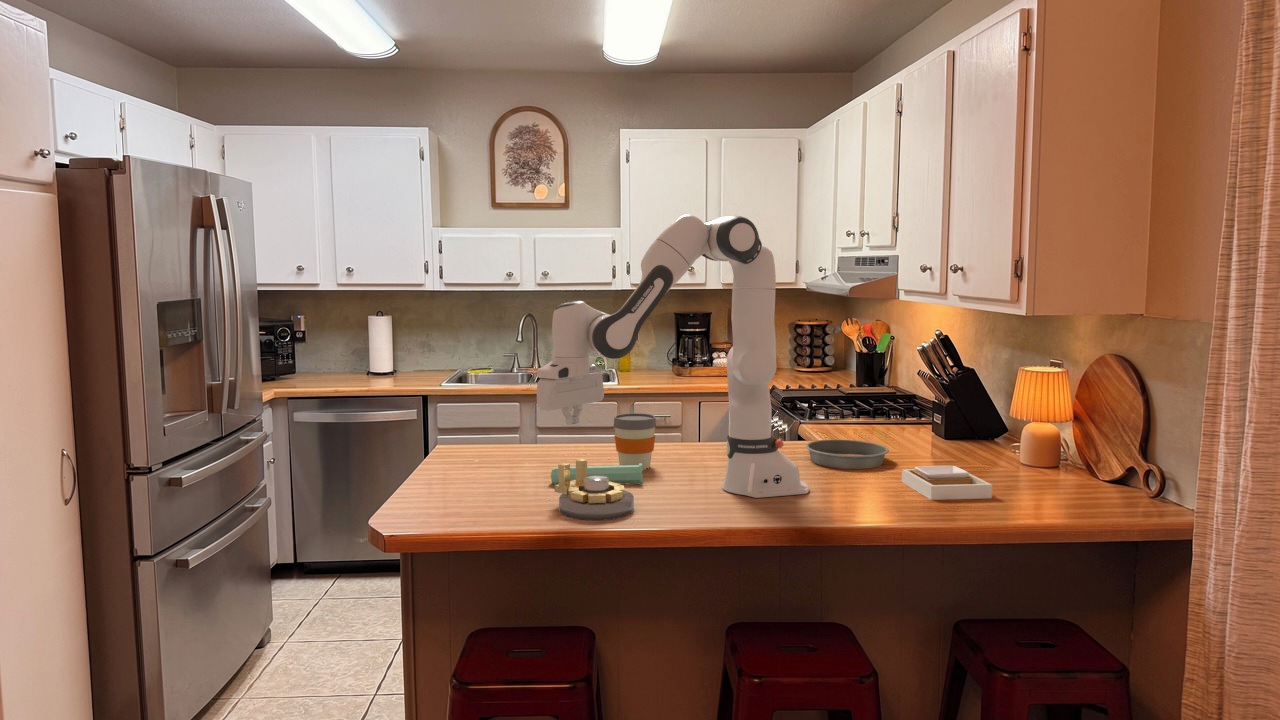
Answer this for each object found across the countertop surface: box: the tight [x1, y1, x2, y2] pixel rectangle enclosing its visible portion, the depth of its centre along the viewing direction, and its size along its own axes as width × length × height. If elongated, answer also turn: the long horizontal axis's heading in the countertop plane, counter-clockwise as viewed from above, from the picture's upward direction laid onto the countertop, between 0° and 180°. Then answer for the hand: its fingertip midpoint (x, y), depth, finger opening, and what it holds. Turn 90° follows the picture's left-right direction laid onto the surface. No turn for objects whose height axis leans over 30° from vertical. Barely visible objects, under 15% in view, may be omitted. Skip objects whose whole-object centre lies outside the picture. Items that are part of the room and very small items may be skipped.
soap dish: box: [912, 465, 972, 485], centre depth 218 cm, size 12×10×5 cm
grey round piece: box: [558, 476, 635, 521], centre depth 197 cm, size 18×18×8 cm
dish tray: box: [901, 468, 993, 501], centre depth 215 cm, size 16×18×4 cm
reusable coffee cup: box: [613, 412, 657, 470], centre depth 241 cm, size 12×13×15 cm
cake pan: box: [805, 438, 890, 470], centre depth 249 cm, size 25×25×4 cm
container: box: [549, 463, 644, 485], centre depth 222 cm, size 6×6×25 cm
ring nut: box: [554, 458, 626, 503], centre depth 198 cm, size 17×13×7 cm
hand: (572, 423), depth 201 cm, fingers closed
